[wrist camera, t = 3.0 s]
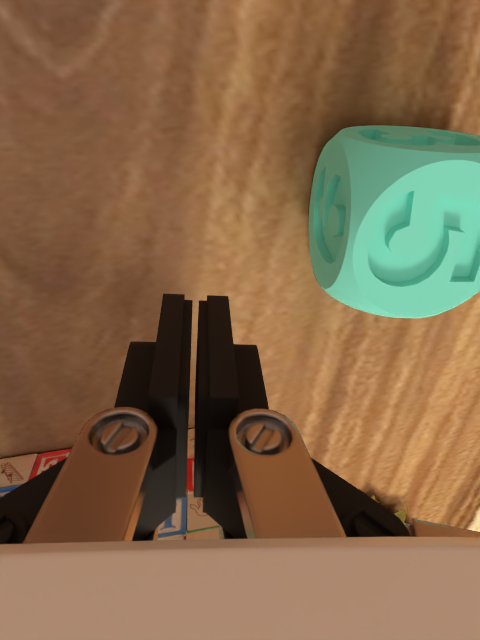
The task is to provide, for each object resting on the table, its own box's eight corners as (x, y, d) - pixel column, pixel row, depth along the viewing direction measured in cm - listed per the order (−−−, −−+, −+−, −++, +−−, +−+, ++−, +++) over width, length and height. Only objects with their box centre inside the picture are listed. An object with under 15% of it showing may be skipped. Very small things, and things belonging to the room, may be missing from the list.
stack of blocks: (-6, 510, 39) (-79, 680, 28) (-38, 462, 36) (-135, 635, 25) (235, 472, 39) (251, 628, 29) (225, 421, 36) (238, 576, 25)
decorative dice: (420, 256, 30) (488, 319, 23) (302, 256, 29) (335, 321, 22) (455, 126, 25) (551, 156, 19) (318, 122, 25) (365, 151, 18)
